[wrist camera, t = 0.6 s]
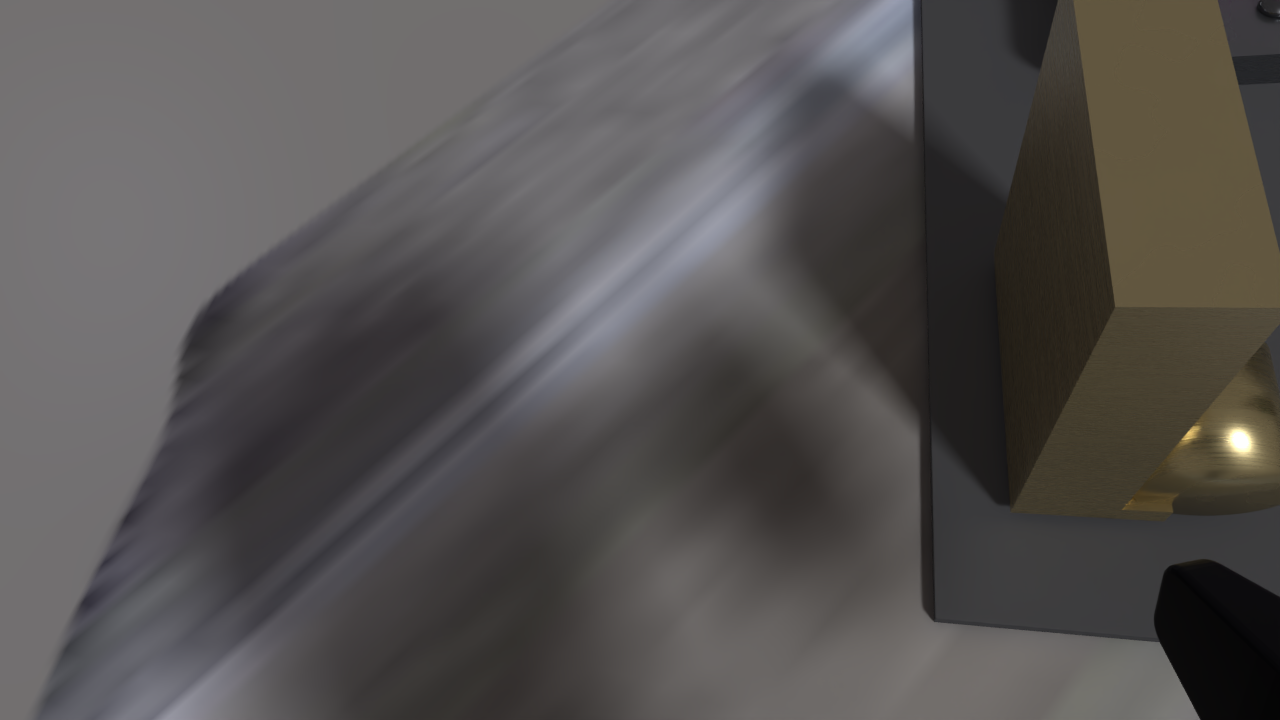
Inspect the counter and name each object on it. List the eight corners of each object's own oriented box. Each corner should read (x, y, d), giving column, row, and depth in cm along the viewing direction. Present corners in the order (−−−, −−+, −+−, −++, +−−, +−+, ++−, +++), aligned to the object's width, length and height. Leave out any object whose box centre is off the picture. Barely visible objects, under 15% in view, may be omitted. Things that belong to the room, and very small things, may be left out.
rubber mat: (1681, 689, 18) (1697, 685, 18) (934, 622, 22) (935, 618, 22) (1372, -100, 30) (1378, -111, 30) (919, -58, 34) (920, -67, 33)
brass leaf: (1266, 527, 21) (1565, 309, 12) (1010, 512, 22) (1115, 307, 13) (1211, 251, 24) (1410, -68, 16) (993, 253, 26) (1067, -40, 17)
